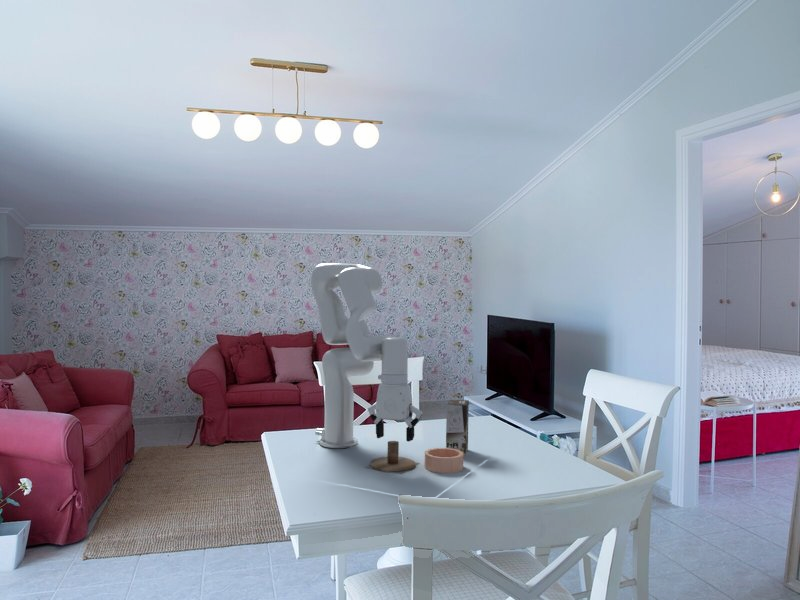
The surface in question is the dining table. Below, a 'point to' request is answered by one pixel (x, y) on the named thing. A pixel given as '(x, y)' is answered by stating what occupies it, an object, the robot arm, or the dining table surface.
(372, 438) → the dining table surface
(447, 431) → the coffee box
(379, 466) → the lid
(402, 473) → the mat
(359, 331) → the robot arm
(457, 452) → the bowl
